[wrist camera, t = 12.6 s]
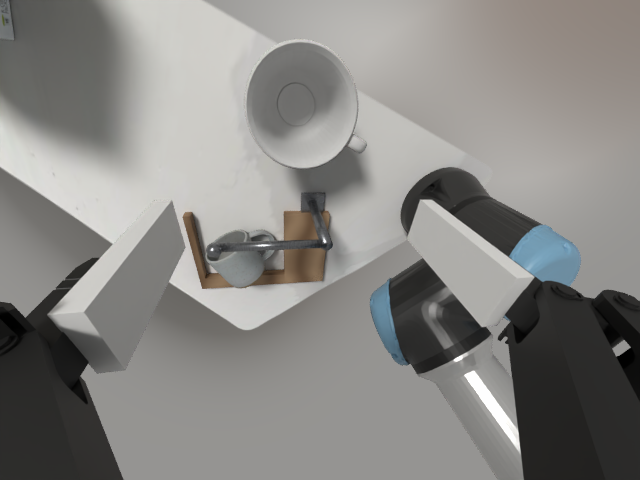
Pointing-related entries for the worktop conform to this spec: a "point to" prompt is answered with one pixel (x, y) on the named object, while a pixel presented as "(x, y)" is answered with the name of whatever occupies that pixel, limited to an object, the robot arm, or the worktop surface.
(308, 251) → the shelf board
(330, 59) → the teacup
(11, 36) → the tea box
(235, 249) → the bent metal bar
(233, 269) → the ceramic mug
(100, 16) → the worktop surface
